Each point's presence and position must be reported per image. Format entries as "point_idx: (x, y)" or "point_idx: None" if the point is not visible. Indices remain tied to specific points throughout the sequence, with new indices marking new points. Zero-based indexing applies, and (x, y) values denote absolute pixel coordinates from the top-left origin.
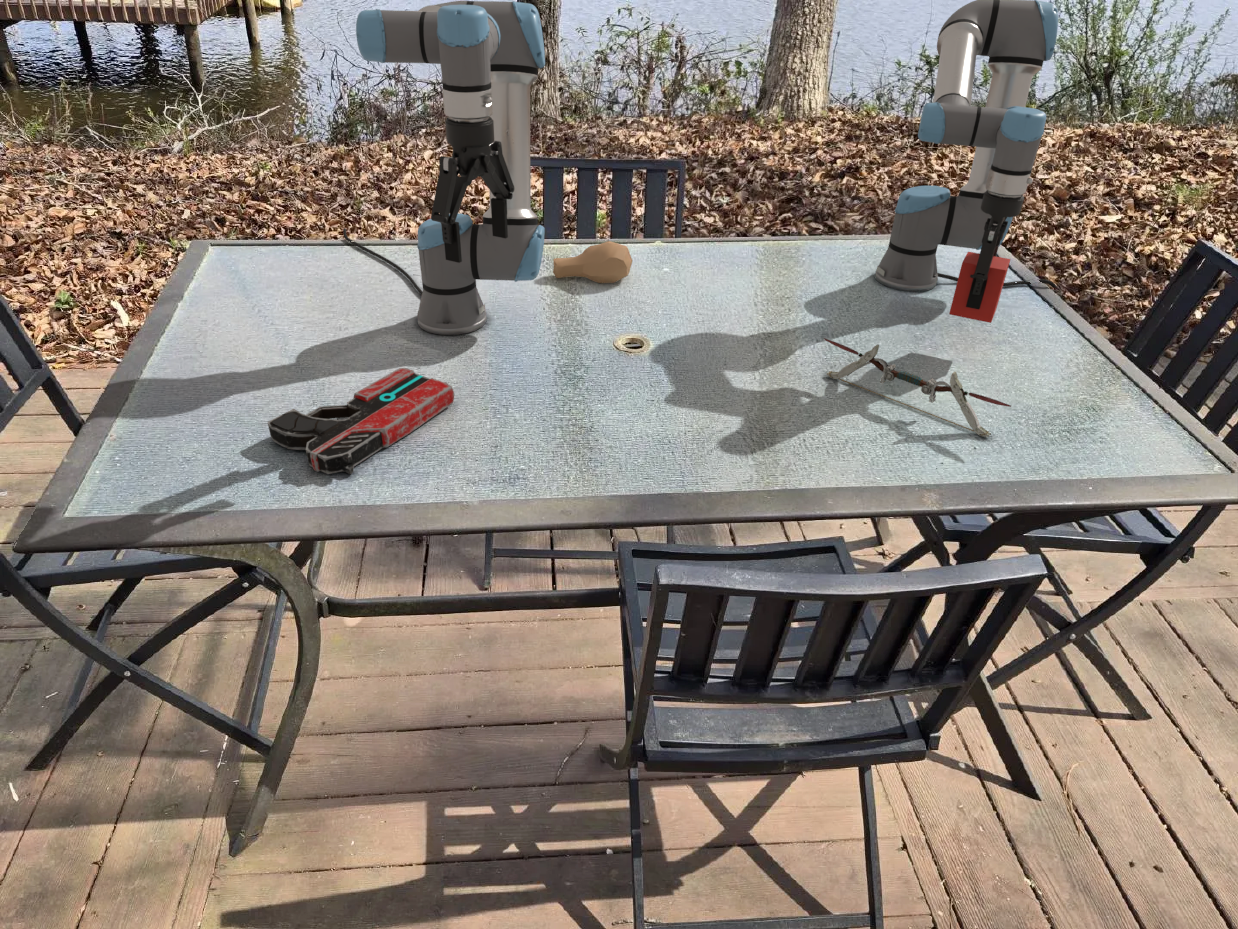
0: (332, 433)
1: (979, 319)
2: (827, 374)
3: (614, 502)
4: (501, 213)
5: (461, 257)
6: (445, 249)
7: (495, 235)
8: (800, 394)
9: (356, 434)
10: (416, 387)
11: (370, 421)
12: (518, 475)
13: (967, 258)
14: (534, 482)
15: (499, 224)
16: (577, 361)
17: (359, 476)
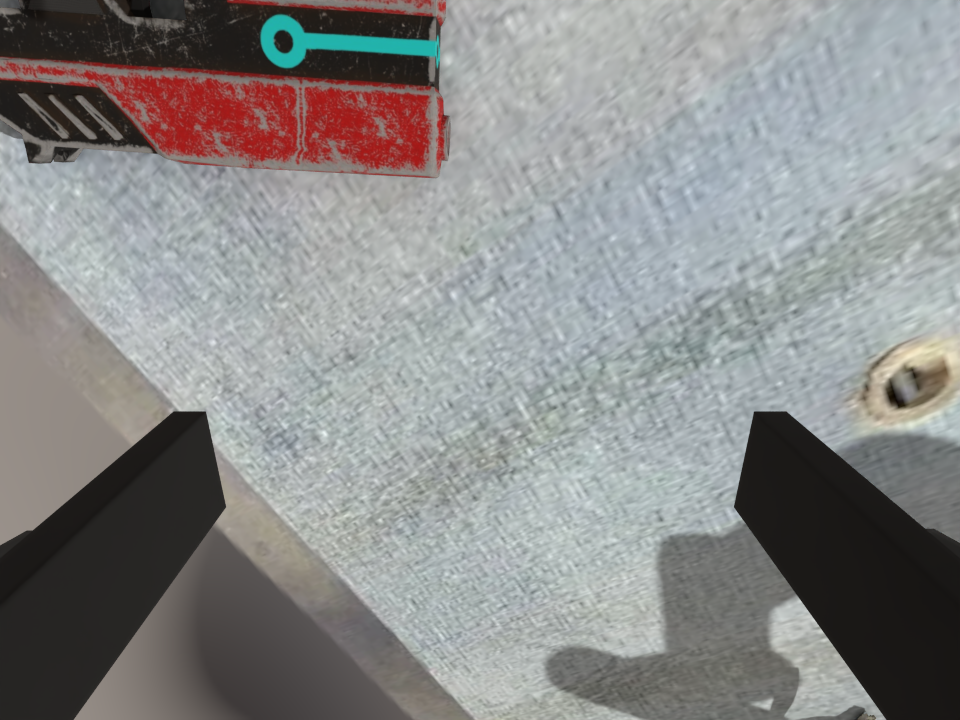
0: (60, 38)
1: None
2: (865, 715)
3: (329, 591)
4: (849, 636)
5: (210, 525)
6: (129, 455)
7: (751, 437)
8: (781, 694)
9: (105, 103)
10: (367, 89)
11: (158, 100)
12: (297, 441)
13: None
14: (297, 473)
15: (794, 529)
16: (777, 313)
17: (83, 177)
